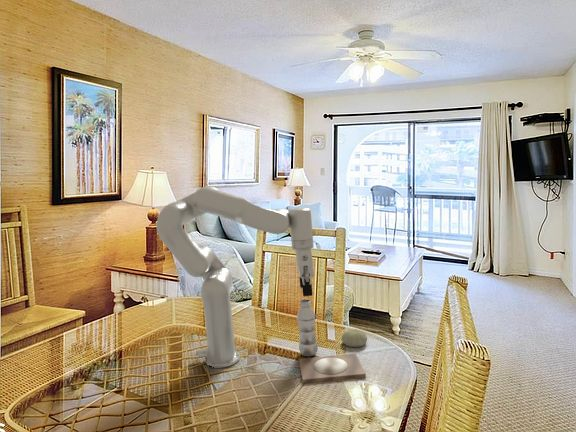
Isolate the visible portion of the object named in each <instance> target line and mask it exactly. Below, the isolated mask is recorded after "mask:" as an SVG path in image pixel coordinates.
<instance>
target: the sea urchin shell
mask: <svg viewBox="0 0 576 432" xmlns="http://www.w3.org/2000/svg"><path fill="white" fill-rule="evenodd" d="M341 341H342V343H343V344H344V345H346V347H350V348H358V347H359V348H360V347H363V346H365V345H366V343H367V341H368V336H367V335H366V333H365V332H364V331H362V330H360V329H353V328H352V329H348V330H346V331H345V332H343V333H342V334H341Z"/></svg>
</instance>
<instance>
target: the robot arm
mask: <svg viewBox="0 0 576 432" xmlns="http://www.w3.org/2000/svg"><path fill="white" fill-rule="evenodd" d="M206 213H207V214H208V215H209V214H210V215H213V216H217V217H219V218H224V219H226V220H227V219H228V220H230V221H233V222H237V223H239V224H241V225H245V226H247V227H249V228H252V229H255V230H259V231H261V232H265V233H269V234H271V235H272V234H274V235H282V234H284V233H285V232H287V231H288V229H289V230H290V239H291V241H290V242H291V249H292V250H294V251H295V259H296V267H297V273H298V275H299V287H300V288H301V289H302V296H303V297H311V296H313V284H312V280H311V277H312V278H314V277H315V271H314V264H313V263H314V261H313V256H312V255H313V253H312V249H314V236H313V223H312V212H311V209H310V208H308V207H298V208H291V209H289V208H288V209H287V208H275V209H268V208H265V207H262V206H259V205H256V204H254V203H252V202H251V201H249V200H248V199H246V198H245V197H243V196H240V195H236V194H232V193H228V192H225V191H222V190H219V189H218V188H216V186H215V187H214V186H211V185H206V186H202V187H200V188H198V189H197V190H196V191H195V192H193V193H191V194H189V195H186V196H185V197H183V198H180V199H178V200H176V201H173V202H171V203H168V204H167V205H165V206H164V207H163V208H162V209H161V211H160V212H159V213H158V217H157V219H156V232H157V234H158V237H159V238H160V241H162V243H163V244H164V246H165V247H166V248H167V249H168V250H169V251H170V253H171V254H172V255H173V257H174V258H175V259H176V260H177V261H178V263H179V264H180V265H181V267H182V268H183V269H184V270H185V272H186V273H187V274H188V275H189V276H191V277H193V278H200V277H201V278H202V279H203V282H202V285H201V290H200V295H201V302H202V305H203V312H204V320H205V321H204V323H205V331H206V343H207V348H205V349H196V350H195V356H197V357H198V358H199V359H200V358H201V359H202V358H204V363H205V362H206V363H207V364H208V365H210V366H212V367H211V368H213V367H214V368H213V369H223V368H227V367H230V366H233V365H235V364H236V363H237V362H239V360H240V358H241V354H240V352H239V351H238V350H236V346H235V335H234V322H233V320H234V319H233V310H232V302H231V295H230V291H231V289H232V285H233V282H234V280H233V276H232V273H231V272H230V270H229V268H228V267H227V266H226V265H225V264H224V262H223V261H222V260H221V259H220V257H219V256H218V255H217V254H216V253H215V251H214V250H213V249H211V248H210V247H209V246H206V245H203V244H202V245H201V244H200V245H198V244H197V242H196V241H195V240H194V239H193V237H192V236H191V235H190V234H189V233H188V232H187V231H186V230H185V229H184V225H186V224H187V223H189V222H191V221H192V220H195V219H196V218H198V217H200V216H203V215H204V214H206Z"/></svg>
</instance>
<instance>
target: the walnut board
mask: <svg viewBox="0 0 576 432" xmlns="http://www.w3.org/2000/svg"><path fill="white" fill-rule="evenodd" d="M298 366H299V369H300V375H301V379H302V384H310V383H320V382H330V381H340V380H350V379H361V378H366V377H367V375H366V371H365V369H364V367H363V365H362V363H361V362H360V359H359V357H358V355H357V353H349V354H348V353H347V354H340V355H339V354H338V355H328V356H317V357H316V356H315V357H304V358H299V359H298Z"/></svg>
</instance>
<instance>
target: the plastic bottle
mask: <svg viewBox="0 0 576 432" xmlns="http://www.w3.org/2000/svg"><path fill="white" fill-rule="evenodd" d="M311 303H312V301H311V299H308V298H305V299H302V300H300V301H299V307H300V308H299V310H298V311H297V314H296V319H297V323H298V329H299V343H298V344H299V345H298V348H299V353H300V354H301V356H303V357H312V356H316V354H317V353H318V348H319V346H318V342H317V339H316V326H315V325H316V313H315V311H314V309H313V308H312V304H311Z"/></svg>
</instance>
